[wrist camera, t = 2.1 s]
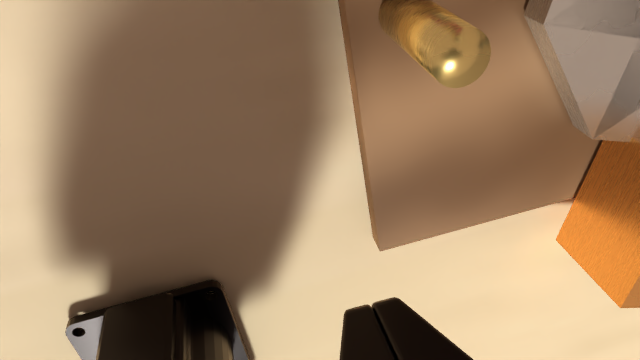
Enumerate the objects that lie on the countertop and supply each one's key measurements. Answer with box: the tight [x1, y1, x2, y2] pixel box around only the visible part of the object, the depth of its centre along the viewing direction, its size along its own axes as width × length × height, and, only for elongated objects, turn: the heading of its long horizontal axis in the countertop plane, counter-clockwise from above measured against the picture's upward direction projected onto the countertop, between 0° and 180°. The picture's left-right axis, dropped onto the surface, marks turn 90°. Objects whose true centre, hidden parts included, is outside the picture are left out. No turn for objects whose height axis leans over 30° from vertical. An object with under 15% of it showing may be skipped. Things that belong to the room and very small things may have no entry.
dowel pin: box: [379, 0, 491, 88], centre depth 16 cm, size 2×2×6 cm
